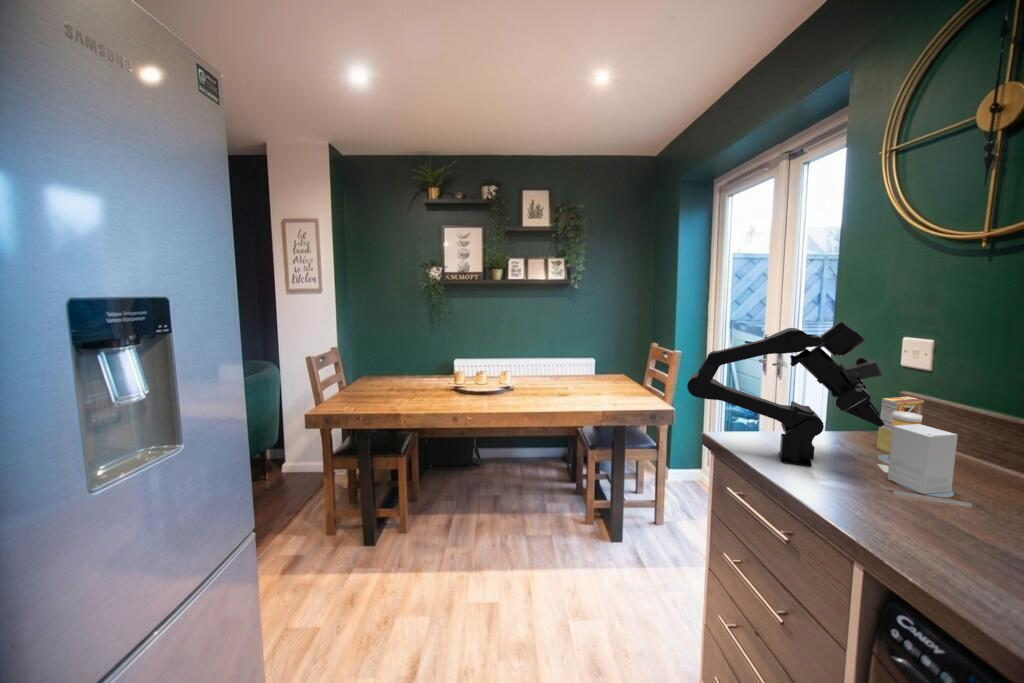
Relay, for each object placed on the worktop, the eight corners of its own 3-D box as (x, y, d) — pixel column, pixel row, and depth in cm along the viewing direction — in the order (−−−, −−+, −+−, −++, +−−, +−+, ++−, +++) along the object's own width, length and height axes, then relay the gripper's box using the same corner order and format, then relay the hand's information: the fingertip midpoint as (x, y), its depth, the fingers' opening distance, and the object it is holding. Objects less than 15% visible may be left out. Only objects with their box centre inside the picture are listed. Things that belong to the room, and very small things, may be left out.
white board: (893, 495, 86) (894, 489, 86) (859, 454, 108) (859, 449, 108) (972, 509, 81) (973, 502, 81) (919, 463, 102) (920, 458, 102)
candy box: (900, 449, 111) (906, 395, 109) (918, 455, 107) (925, 399, 105) (875, 452, 109) (880, 397, 108) (892, 459, 105) (899, 401, 103)
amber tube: (892, 463, 99) (897, 415, 98) (884, 456, 104) (889, 410, 102) (920, 467, 97) (926, 418, 95) (911, 459, 101) (917, 412, 100)
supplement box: (952, 492, 85) (960, 434, 83) (921, 494, 84) (929, 436, 82) (914, 476, 92) (920, 423, 90) (885, 478, 91) (891, 424, 90)
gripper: (860, 352, 88) (925, 410, 83) (854, 343, 103) (909, 392, 97) (812, 383, 94) (870, 439, 88) (813, 370, 108) (863, 417, 103)
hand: (880, 420), depth 94 cm, fingers open, 9 cm apart
